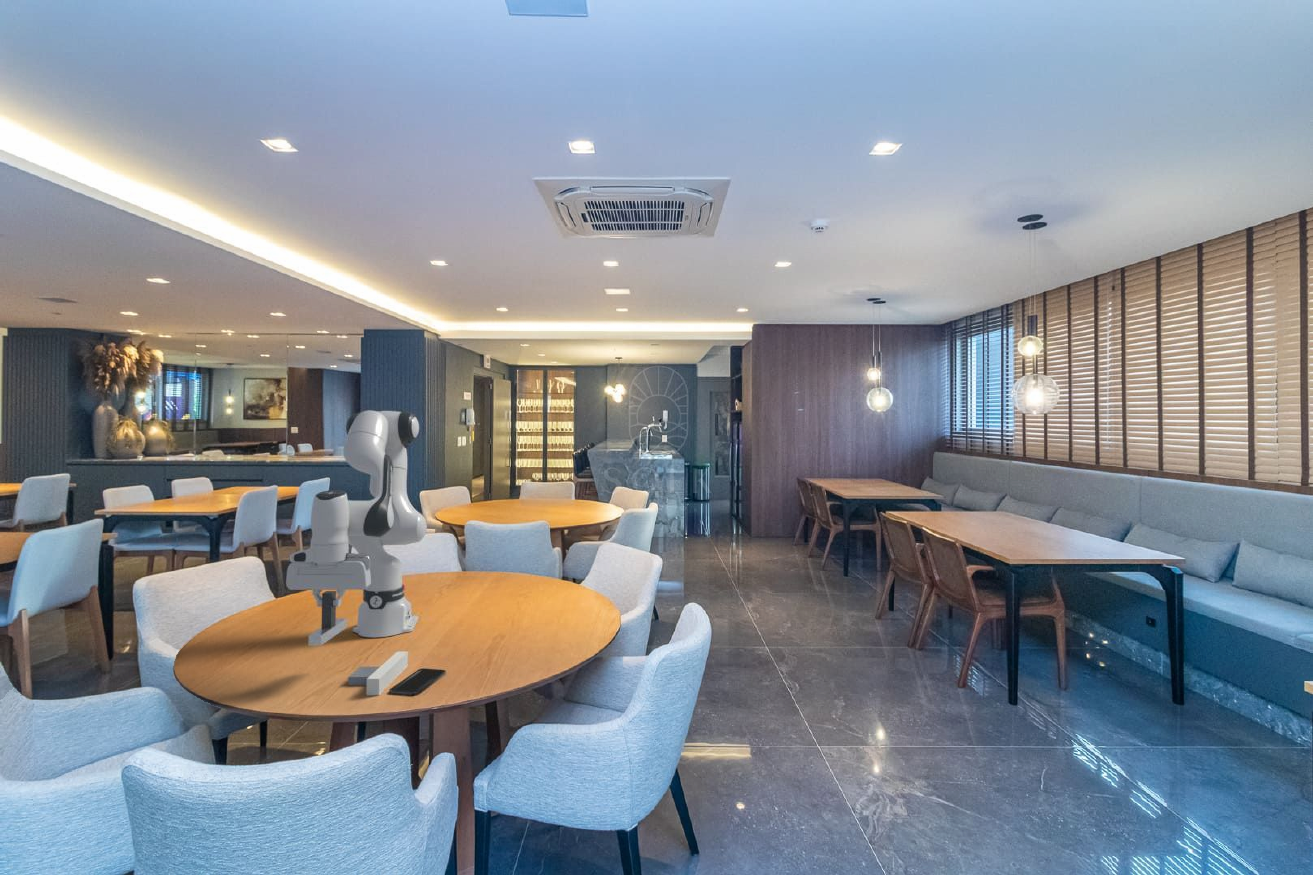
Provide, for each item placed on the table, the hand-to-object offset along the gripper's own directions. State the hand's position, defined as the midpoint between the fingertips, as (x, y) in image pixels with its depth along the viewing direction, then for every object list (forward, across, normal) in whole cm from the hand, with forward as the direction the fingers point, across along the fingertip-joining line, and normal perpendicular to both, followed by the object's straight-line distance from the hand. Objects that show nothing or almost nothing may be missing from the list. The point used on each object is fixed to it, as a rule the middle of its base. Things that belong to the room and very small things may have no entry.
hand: (328, 606), depth 156 cm
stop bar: (+19, -16, +2) cm, 25 cm away
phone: (+19, -25, +4) cm, 31 cm away
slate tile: (+19, -11, +2) cm, 22 cm away
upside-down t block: (+8, 0, 0) cm, 8 cm away
